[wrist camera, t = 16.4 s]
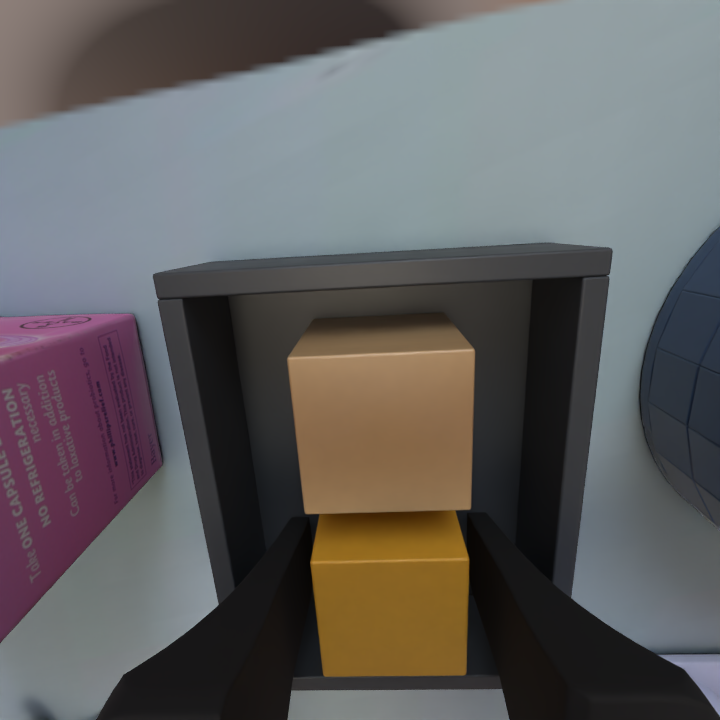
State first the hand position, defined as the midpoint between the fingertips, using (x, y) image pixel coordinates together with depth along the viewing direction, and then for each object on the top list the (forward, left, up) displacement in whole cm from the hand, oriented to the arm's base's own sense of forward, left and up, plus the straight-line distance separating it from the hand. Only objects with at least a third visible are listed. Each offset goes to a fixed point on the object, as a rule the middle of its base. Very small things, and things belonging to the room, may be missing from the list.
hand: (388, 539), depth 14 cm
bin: (+3, 0, -1) cm, 3 cm away
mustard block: (0, 0, -1) cm, 1 cm away
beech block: (+6, 0, -1) cm, 6 cm away
